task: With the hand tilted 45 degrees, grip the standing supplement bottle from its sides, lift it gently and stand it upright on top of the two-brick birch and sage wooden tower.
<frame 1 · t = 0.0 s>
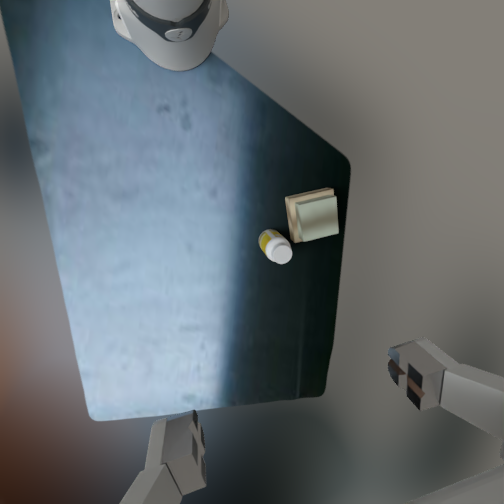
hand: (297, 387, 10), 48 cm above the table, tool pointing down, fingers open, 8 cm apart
brick tower: (308, 213, 60), on the table
supplement bottle: (269, 239, 60), on the table
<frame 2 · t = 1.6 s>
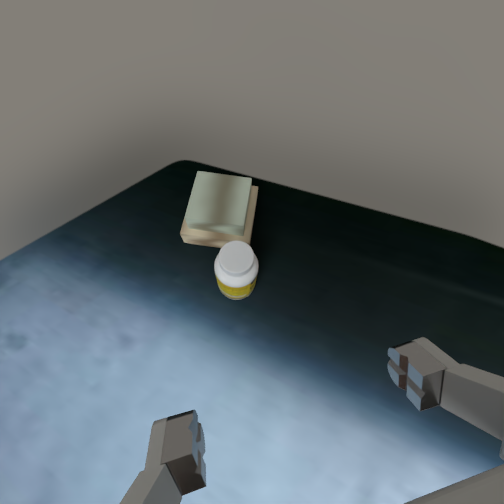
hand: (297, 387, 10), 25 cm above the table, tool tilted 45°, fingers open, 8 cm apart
brick tower: (222, 219, 42), on the table
supplement bottle: (237, 282, 38), on the table
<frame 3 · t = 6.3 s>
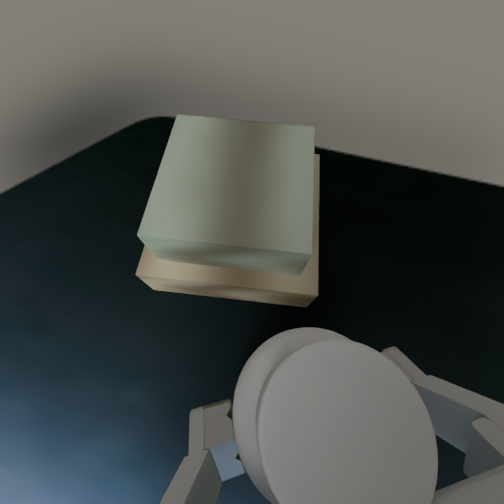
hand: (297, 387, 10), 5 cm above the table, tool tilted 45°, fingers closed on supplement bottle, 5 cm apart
brick tower: (239, 231, 19), on the table
supplement bottle: (285, 393, 15), on the table, touching gripper
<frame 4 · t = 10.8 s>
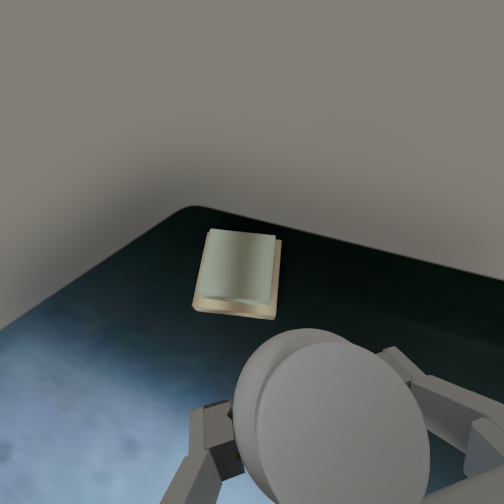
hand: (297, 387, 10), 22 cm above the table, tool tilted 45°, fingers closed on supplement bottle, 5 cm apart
brick tower: (240, 278, 35), on the table
supplement bottle: (285, 392, 15), point 17 cm above the table, touching gripper
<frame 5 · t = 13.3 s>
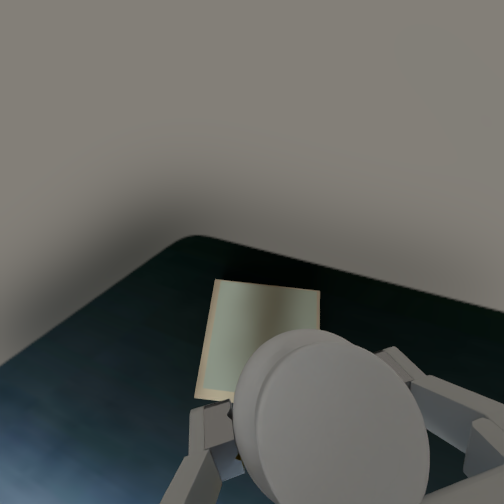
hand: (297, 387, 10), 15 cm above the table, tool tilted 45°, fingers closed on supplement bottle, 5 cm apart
brick tower: (260, 342, 25), on the table
supplement bottle: (285, 392, 15), point 10 cm above the table, touching gripper
when the fingers open (12 cm above the table, at t = 15.4 s): supplement bottle drops 1 cm, resting on brick tower.
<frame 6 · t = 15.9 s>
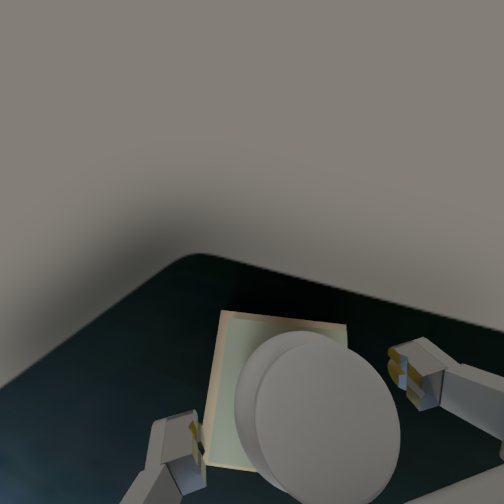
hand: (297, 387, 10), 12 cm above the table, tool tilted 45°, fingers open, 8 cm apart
brick tower: (274, 384, 21), on the table
supplement bottle: (282, 389, 16), point 6 cm above the table, touching brick tower
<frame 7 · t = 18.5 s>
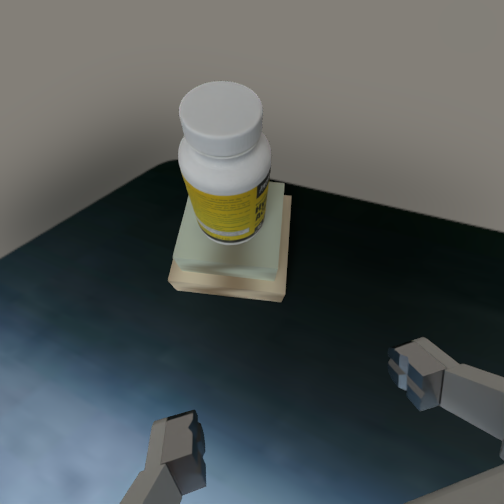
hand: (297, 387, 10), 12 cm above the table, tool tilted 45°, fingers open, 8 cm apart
brick tower: (235, 248, 27), on the table
supplement bottle: (232, 218, 21), point 6 cm above the table, touching brick tower
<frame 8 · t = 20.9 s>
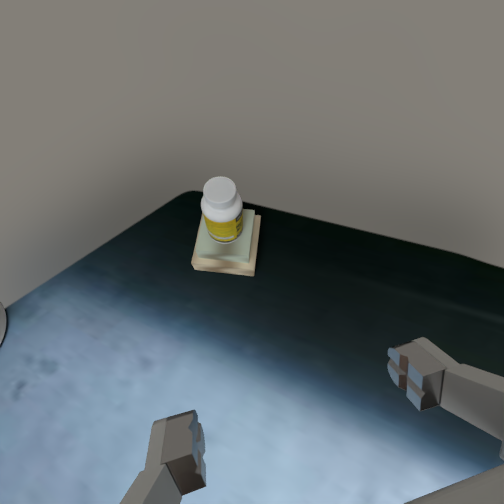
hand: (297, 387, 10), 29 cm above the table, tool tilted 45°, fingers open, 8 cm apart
brick tower: (228, 246, 45), on the table
supplement bottle: (225, 229, 40), point 6 cm above the table, touching brick tower
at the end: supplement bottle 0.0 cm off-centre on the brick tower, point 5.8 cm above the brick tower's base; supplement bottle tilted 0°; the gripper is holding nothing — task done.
